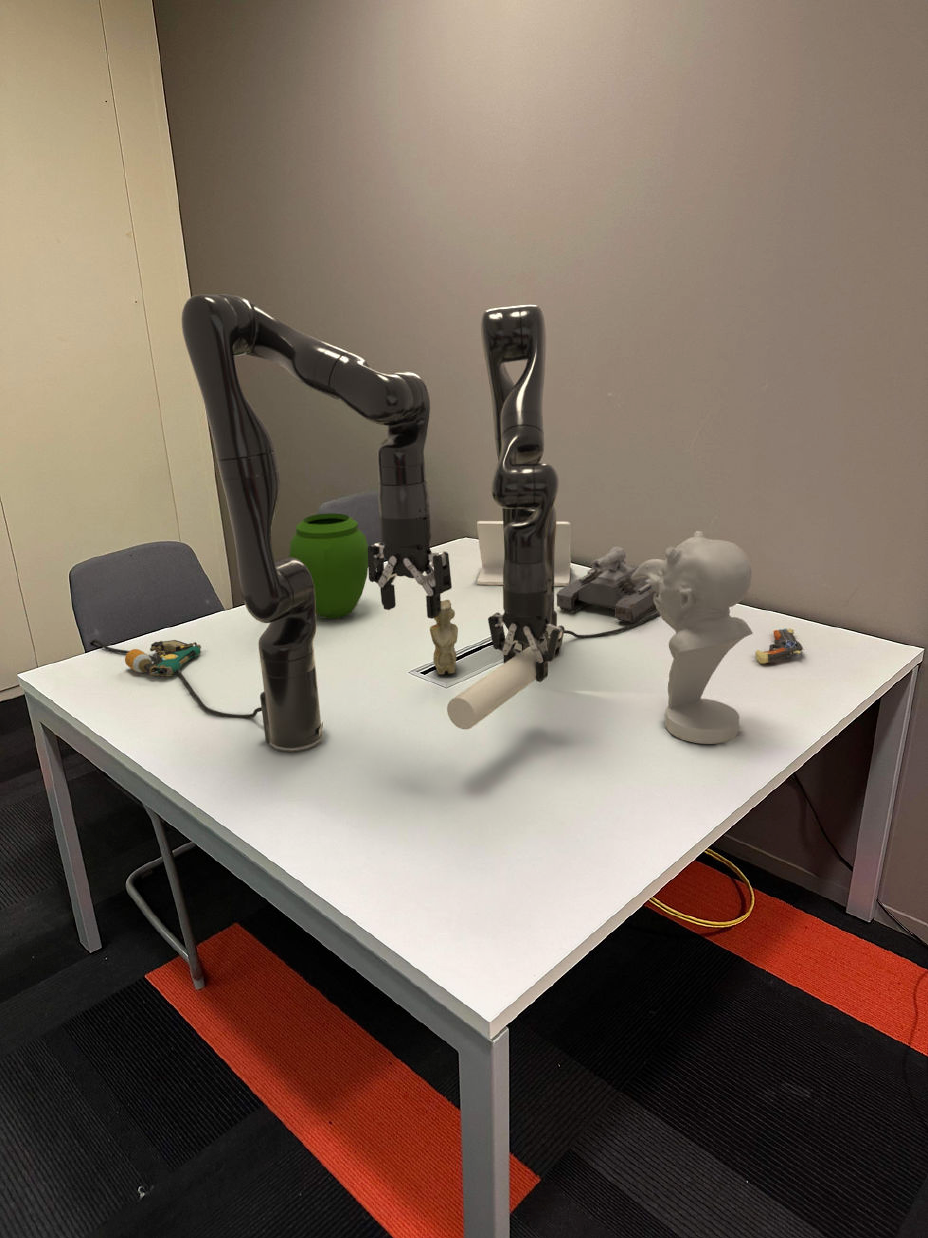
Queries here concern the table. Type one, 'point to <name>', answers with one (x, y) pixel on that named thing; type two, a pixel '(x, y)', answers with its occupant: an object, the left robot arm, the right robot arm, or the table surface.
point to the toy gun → (780, 646)
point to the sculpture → (444, 639)
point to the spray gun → (162, 657)
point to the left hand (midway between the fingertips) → (411, 612)
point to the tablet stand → (494, 553)
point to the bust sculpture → (699, 629)
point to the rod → (493, 690)
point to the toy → (610, 589)
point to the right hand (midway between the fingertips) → (525, 676)
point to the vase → (332, 561)
